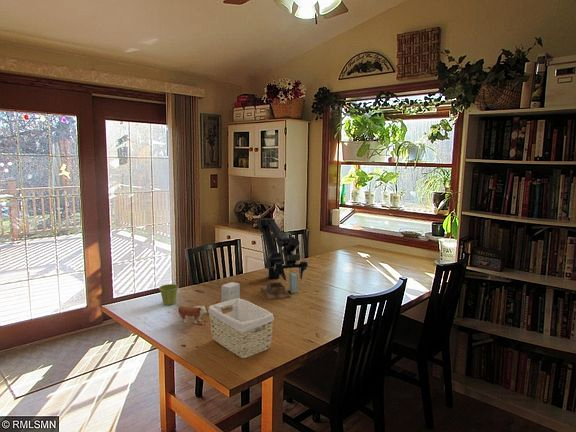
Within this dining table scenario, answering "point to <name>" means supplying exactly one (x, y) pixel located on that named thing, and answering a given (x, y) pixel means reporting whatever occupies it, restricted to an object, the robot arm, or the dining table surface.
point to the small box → (230, 291)
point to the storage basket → (241, 327)
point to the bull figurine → (192, 312)
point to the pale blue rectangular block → (293, 283)
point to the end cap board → (275, 290)
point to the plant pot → (168, 293)
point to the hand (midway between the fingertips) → (293, 279)
